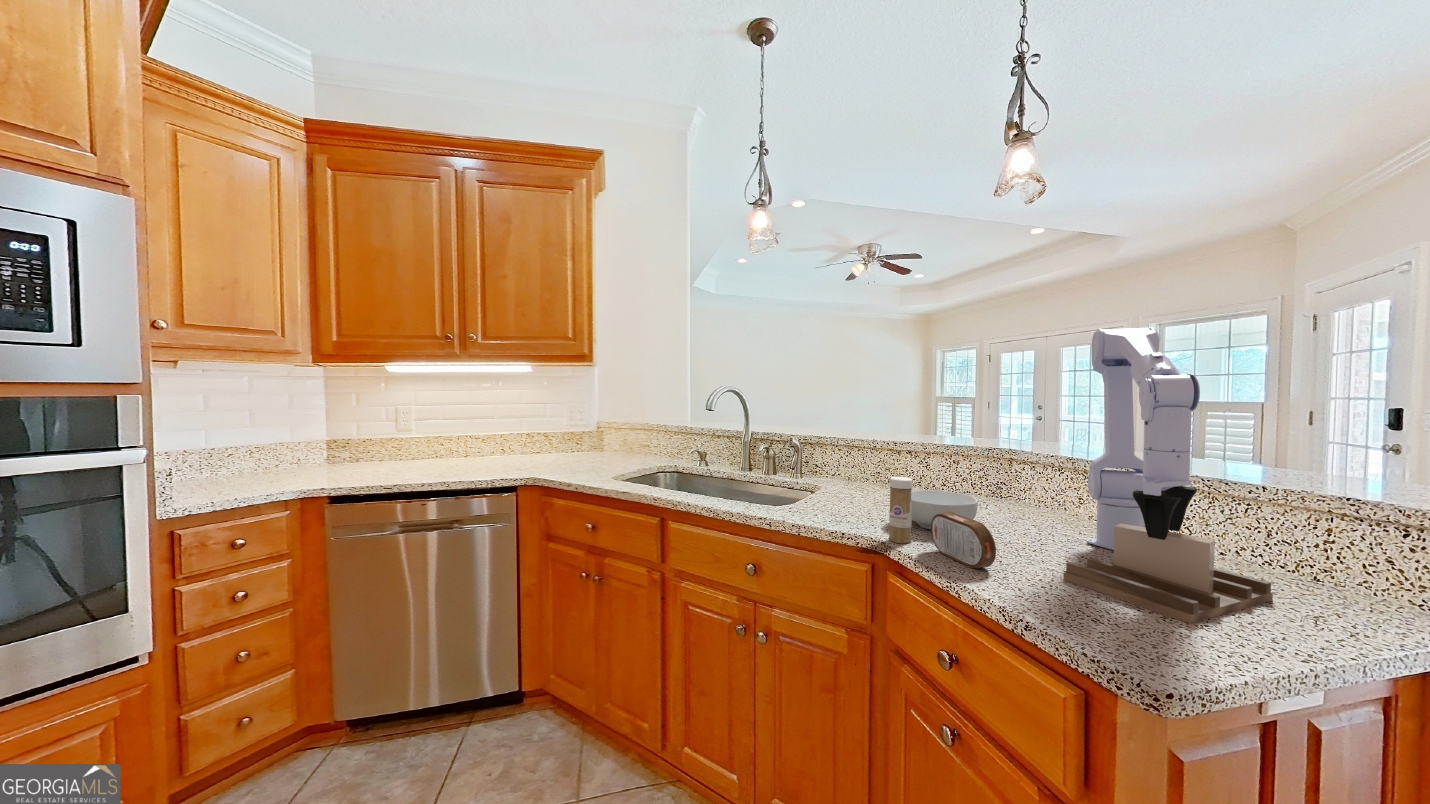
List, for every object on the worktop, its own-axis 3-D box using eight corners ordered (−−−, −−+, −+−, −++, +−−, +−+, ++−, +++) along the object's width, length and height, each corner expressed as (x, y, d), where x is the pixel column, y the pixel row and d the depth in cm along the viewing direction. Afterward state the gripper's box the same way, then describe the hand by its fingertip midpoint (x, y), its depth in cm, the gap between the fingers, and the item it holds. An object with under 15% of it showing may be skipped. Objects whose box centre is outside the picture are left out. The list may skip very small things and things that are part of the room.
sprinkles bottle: (888, 542, 111) (888, 479, 111) (889, 536, 116) (890, 475, 115) (911, 545, 110) (912, 480, 109) (912, 539, 114) (912, 476, 113)
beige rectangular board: (1119, 569, 92) (1120, 523, 92) (1213, 590, 82) (1214, 539, 82) (1113, 572, 90) (1114, 526, 90) (1208, 595, 80) (1209, 543, 80)
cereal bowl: (994, 534, 117) (994, 502, 117) (924, 538, 115) (924, 506, 114) (948, 515, 134) (949, 487, 134) (886, 518, 131) (886, 490, 131)
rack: (1141, 563, 98) (1142, 548, 98) (1272, 600, 82) (1273, 582, 81) (1063, 579, 91) (1063, 563, 90) (1190, 623, 74) (1190, 603, 74)
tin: (997, 573, 94) (998, 526, 93) (982, 575, 93) (982, 527, 92) (941, 547, 108) (941, 506, 108) (927, 549, 107) (928, 507, 107)
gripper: (1149, 444, 93) (1147, 521, 93) (1120, 451, 84) (1118, 536, 85) (1203, 448, 87) (1200, 530, 88) (1178, 456, 78) (1175, 547, 79)
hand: (1164, 533), depth 86 cm, fingers open, 7 cm apart
